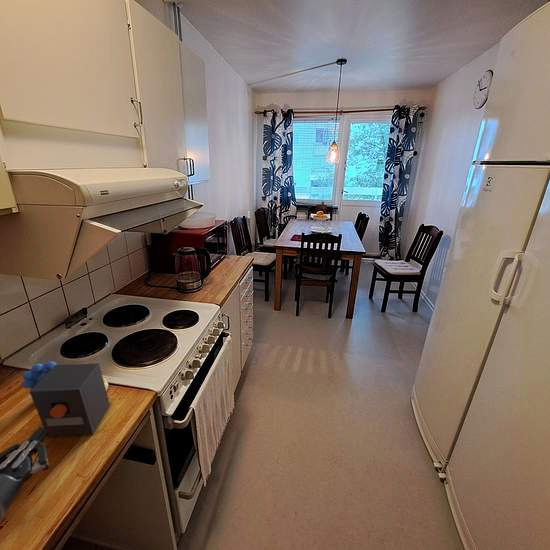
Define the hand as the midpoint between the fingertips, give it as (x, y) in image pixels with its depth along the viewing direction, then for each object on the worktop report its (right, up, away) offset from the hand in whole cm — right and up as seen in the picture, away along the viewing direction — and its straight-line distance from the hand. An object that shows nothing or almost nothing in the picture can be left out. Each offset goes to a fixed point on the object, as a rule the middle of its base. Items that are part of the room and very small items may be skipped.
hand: (44, 429), depth 69 cm
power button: (0, +1, +6) cm, 6 cm away
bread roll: (-4, -1, +25) cm, 25 cm away
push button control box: (-1, -5, +14) cm, 15 cm away
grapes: (-16, -1, +23) cm, 28 cm away
